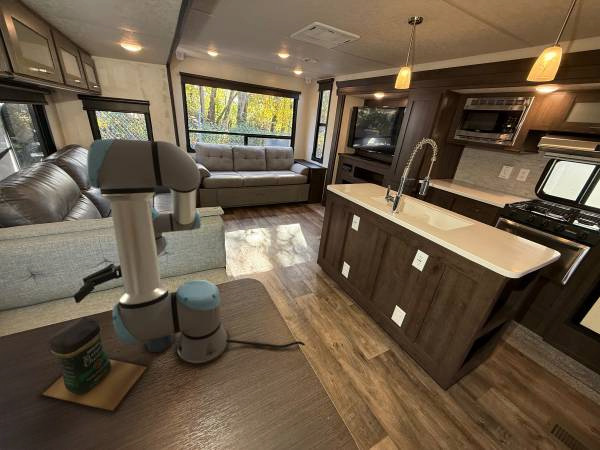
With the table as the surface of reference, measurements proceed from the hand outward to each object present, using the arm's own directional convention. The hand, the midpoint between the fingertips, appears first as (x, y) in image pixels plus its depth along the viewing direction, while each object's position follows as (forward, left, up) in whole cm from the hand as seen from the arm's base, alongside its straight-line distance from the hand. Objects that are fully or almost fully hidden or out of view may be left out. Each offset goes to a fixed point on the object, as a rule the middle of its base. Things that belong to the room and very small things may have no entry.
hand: (99, 300), depth 71 cm
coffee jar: (-3, +10, -19) cm, 21 cm away
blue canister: (-13, -5, -19) cm, 23 cm away
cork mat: (-5, +10, -19) cm, 22 cm away
